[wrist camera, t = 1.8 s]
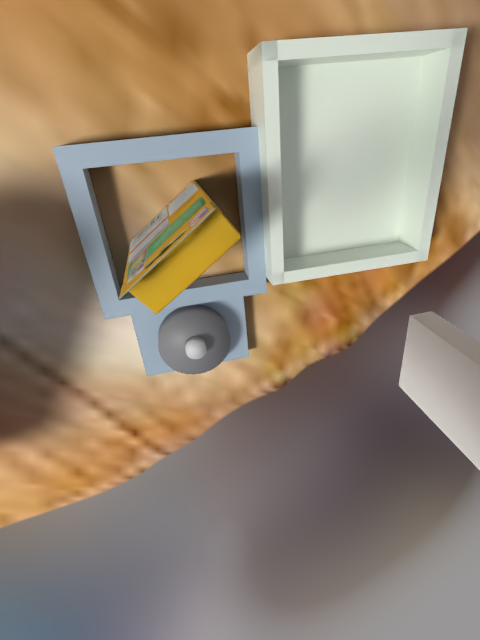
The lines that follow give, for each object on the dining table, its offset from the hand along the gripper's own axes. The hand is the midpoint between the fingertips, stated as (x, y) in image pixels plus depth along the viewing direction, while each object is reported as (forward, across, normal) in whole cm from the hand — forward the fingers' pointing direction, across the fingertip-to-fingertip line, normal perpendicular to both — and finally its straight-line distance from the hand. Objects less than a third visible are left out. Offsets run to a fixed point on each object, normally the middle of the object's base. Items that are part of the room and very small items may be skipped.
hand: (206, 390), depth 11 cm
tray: (+22, +14, +3) cm, 26 cm away
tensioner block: (+22, 0, -3) cm, 22 cm away
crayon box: (+22, 0, 0) cm, 22 cm away
